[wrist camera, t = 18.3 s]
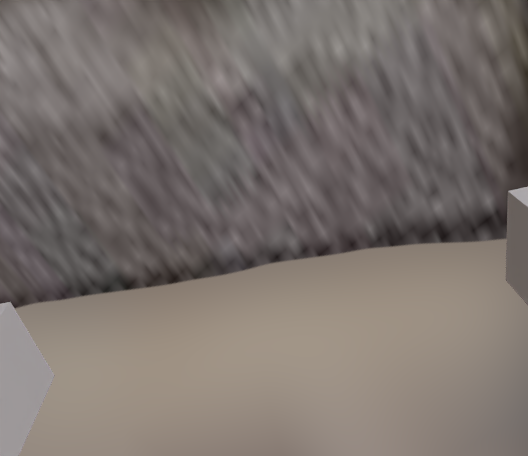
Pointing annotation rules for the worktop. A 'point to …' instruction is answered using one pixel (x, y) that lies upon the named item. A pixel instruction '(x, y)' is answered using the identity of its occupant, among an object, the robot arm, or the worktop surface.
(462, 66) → the worktop surface
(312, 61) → the worktop surface
